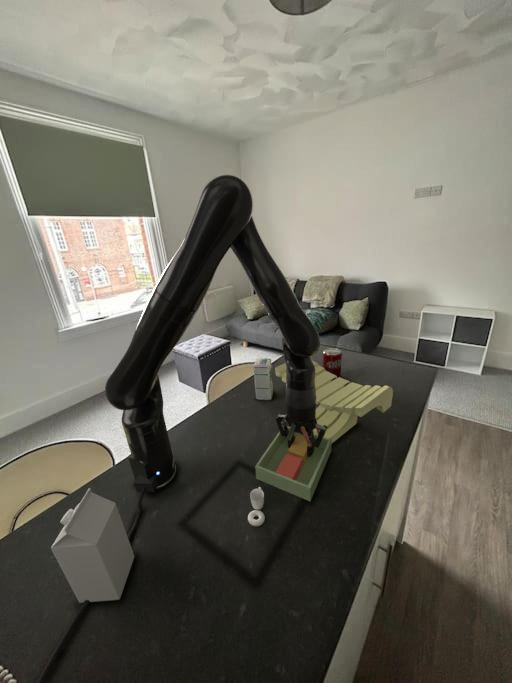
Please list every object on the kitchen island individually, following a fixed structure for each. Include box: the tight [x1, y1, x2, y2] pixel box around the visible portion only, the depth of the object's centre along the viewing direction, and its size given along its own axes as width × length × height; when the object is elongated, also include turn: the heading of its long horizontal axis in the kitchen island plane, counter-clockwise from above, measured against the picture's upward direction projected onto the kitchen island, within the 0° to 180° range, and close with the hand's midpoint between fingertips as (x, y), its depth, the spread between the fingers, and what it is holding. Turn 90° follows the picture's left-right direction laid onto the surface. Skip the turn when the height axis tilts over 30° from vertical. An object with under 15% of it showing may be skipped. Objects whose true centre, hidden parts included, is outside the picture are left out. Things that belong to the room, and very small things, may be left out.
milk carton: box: [50, 487, 135, 604], centre depth 48 cm, size 7×7×19 cm
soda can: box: [322, 347, 343, 378], centre depth 112 cm, size 7×7×12 cm
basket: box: [254, 425, 332, 502], centre depth 73 cm, size 17×14×4 cm
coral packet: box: [275, 454, 303, 480], centre depth 70 cm, size 7×4×3 cm, turn 150°
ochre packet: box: [288, 435, 308, 465], centre depth 76 cm, size 7×4×3 cm, turn 150°
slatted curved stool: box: [274, 358, 394, 445], centre depth 85 cm, size 30×16×18 cm, turn 39°
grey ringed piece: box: [247, 486, 266, 527], centre depth 62 cm, size 9×8×4 cm
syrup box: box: [252, 357, 274, 401], centre depth 102 cm, size 6×6×14 cm
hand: (300, 451), depth 76 cm, fingers closed on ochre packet, 4 cm apart
